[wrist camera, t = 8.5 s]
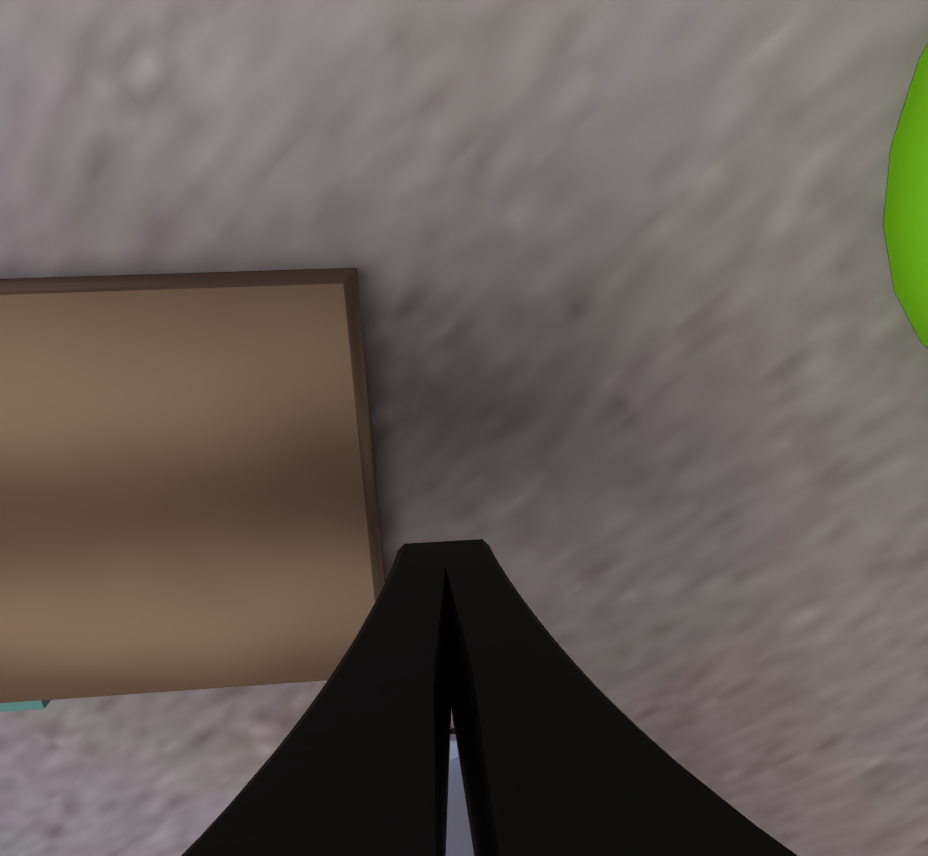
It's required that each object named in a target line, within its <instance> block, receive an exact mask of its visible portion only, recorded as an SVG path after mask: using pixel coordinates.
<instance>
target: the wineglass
mask: <svg viewBox="0 0 928 856" xmlns="http://www.w3.org/2000/svg"><path fill="white" fill-rule="evenodd" d="M883 226H884V232H885V238H886V244H887V250H888V256H889V262H890V268H891V274H892V280H893V286H894V291H895V293H896V295H897V297H898V299H899V301H900V303H901V305H902V307H903V309H904V310H905V312H906V314H907V316H908V318H909V320H910V322H911V324H912V326H913V328H914V330H915V332H916V334H917V336H918V337H919V339H920V341H921V342H922V343H923V344H924V345H925V346H926V347H927V348H928V44H927V46H926V48H925V50H924V52H923V53H922V55H921V57H920V59H919V62H918V65H917V68H916V71H915V74H914V77H913V80H912V83H911V86H910V89H909V93H908V96H907V99H906V102H905V105H904V108H903V111H902V114H901V117H900V120H899V124H898V127H897V130H896V133H895V136H894V139H893V142H892V145H891V152H890V162H889V172H888V183H887V193H886V203H885V214H884V224H883Z"/></svg>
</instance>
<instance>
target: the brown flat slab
mask: <svg viewBox="0 0 928 856" xmlns="http://www.w3.org/2000/svg"><path fill="white" fill-rule="evenodd" d="M384 584H385V581H384V570H383V559H382V548H381V537H380V525H379V514H378V503H377V492H376V481H375V470H374V459H373V448H372V437H371V426H370V415H369V404H368V392H367V381H366V370H365V359H364V348H363V337H362V326H361V315H360V304H359V293H358V282H357V270H356V268H340V269H308V270H276V271H245V272H213V273H181V274H149V275H118V276H86V277H54V278H22V279H0V703H11V702H25V701H39V700H53V699H68V698H82V697H96V696H110V695H124V694H138V693H152V692H166V691H180V690H195V689H209V688H223V687H237V686H251V685H265V684H279V683H293V682H307V681H321V680H328V679H329V678H330V676H331V675H332V673H333V672H334V670H335V669H336V667H337V666H338V664H339V662H340V661H341V659H342V658H343V656H344V655H345V653H346V652H347V650H348V649H349V647H350V646H351V644H352V642H353V641H354V639H355V637H356V636H357V634H358V632H359V631H360V629H361V627H362V625H363V623H364V622H365V620H366V618H367V616H368V614H369V613H370V611H371V609H372V607H373V605H374V604H375V602H376V600H377V598H378V596H379V594H380V592H381V590H382V588H383V586H384Z"/></svg>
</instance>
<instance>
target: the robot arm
mask: <svg viewBox="0 0 928 856" xmlns="http://www.w3.org/2000/svg"><path fill="white" fill-rule="evenodd" d="M451 708H452V715H453V722H454V728H455V734H450V726H451ZM181 856H797V855H796V854H794V853H793V852H792V851H790V850H789V849H787V848H786V847H785V846H783V845H782V844H781V843H779V842H778V841H776V840H775V839H774V838H772V837H771V836H770V835H768V834H767V833H765V832H764V831H763V830H761V829H760V828H758V827H757V826H756V825H754V824H753V823H752V822H751V821H749V820H748V819H747V818H746V817H745V816H743V815H742V814H741V813H740V812H738V811H737V810H736V809H735V808H733V807H732V806H731V805H730V804H728V803H727V802H726V801H725V800H723V799H722V798H721V797H720V796H718V795H717V794H716V793H715V792H713V791H712V790H711V789H710V788H708V787H707V786H706V785H705V784H703V783H702V782H701V781H700V780H698V779H697V778H696V777H695V776H693V775H692V774H691V773H690V772H688V771H687V770H686V769H685V768H683V767H682V766H681V765H680V764H679V763H677V762H676V761H675V760H674V759H673V758H672V757H670V756H669V755H668V754H667V753H666V752H665V751H664V750H663V749H662V748H660V747H659V746H658V745H657V744H656V743H655V742H654V741H653V740H652V739H650V738H649V737H648V736H647V735H646V734H645V733H644V732H643V731H642V730H640V729H639V728H638V727H637V726H636V725H635V724H634V723H633V722H632V721H631V720H630V719H629V718H628V717H627V716H626V715H625V714H624V713H623V712H622V711H620V710H619V709H618V708H617V707H616V706H615V705H614V704H613V703H612V702H611V701H610V700H609V699H608V698H607V697H606V696H605V695H604V694H603V693H602V692H601V691H600V690H599V689H598V688H597V687H596V686H595V684H594V683H593V682H592V681H591V680H590V679H589V678H588V677H587V676H586V675H585V674H584V673H583V672H582V671H581V669H580V668H579V667H578V666H577V665H576V664H575V663H574V662H573V660H572V659H571V658H570V657H569V656H568V655H567V654H566V653H565V651H564V650H563V649H562V648H561V647H560V646H559V644H558V643H557V642H556V641H555V640H554V638H553V637H552V636H551V635H550V634H549V632H548V631H547V630H546V629H545V627H544V626H543V625H542V624H541V622H540V621H539V620H538V618H537V617H536V616H535V615H534V613H533V612H532V611H531V609H530V608H529V607H528V605H527V604H526V603H525V602H524V600H523V599H522V597H521V596H520V595H519V593H518V592H517V590H516V589H515V587H514V586H513V584H512V583H511V582H510V580H509V579H508V577H507V576H506V574H505V572H504V571H503V569H502V568H501V566H500V565H499V563H498V561H497V560H496V558H495V556H494V554H493V552H492V551H491V549H490V546H489V545H488V544H487V543H486V542H485V541H483V540H482V539H479V540H462V541H445V542H428V543H411V544H404V545H403V546H402V547H401V548H400V549H399V550H398V551H397V555H396V558H395V561H394V563H393V566H392V568H391V571H390V573H389V575H388V577H387V580H386V582H385V584H384V586H383V588H382V590H381V592H380V594H379V596H378V598H377V600H376V602H375V604H374V605H373V607H372V609H371V611H370V613H369V614H368V616H367V618H366V620H365V622H364V623H363V625H362V627H361V629H360V631H359V632H358V634H357V636H356V637H355V639H354V641H353V642H352V644H351V646H350V647H349V649H348V650H347V652H346V653H345V655H344V656H343V658H342V659H341V661H340V662H339V664H338V666H337V667H336V669H335V670H334V672H333V673H332V675H331V676H330V678H329V679H328V681H327V683H326V684H325V685H324V687H323V688H322V690H321V691H320V693H319V694H318V695H317V697H316V698H315V700H314V701H313V702H312V704H311V705H310V707H309V708H308V709H307V711H306V712H305V713H304V715H303V716H302V717H301V719H300V720H299V721H298V723H297V724H296V725H295V726H294V728H293V729H292V730H291V732H290V733H289V734H288V735H287V737H286V738H285V739H284V740H283V742H282V743H281V744H280V746H279V747H278V748H277V749H276V751H275V752H274V753H273V754H272V755H271V757H270V758H269V759H268V760H267V761H266V762H265V764H264V765H263V766H262V767H261V768H260V770H259V771H258V772H257V773H256V774H255V775H254V777H253V778H252V779H251V780H250V781H249V782H248V784H247V785H246V786H245V787H244V788H243V789H242V791H241V792H240V793H239V794H238V795H237V796H236V798H235V799H234V800H233V801H232V802H231V803H230V804H229V806H228V807H227V808H226V809H225V810H224V811H223V812H222V813H221V814H220V815H219V817H218V818H217V819H216V820H215V821H214V822H213V823H212V824H211V825H210V826H209V828H208V829H207V830H206V831H205V832H204V833H203V834H202V835H201V836H200V837H199V838H198V839H197V840H196V841H195V842H194V843H193V844H192V845H191V846H190V847H189V848H188V849H187V850H186V851H185V852H184V853H183V854H182V855H181Z"/></svg>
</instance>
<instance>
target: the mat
mask: <svg viewBox="0 0 928 856" xmlns="http://www.w3.org/2000/svg"><path fill="white" fill-rule="evenodd" d="M49 702H50V700H39V701H25V702H11V703H0V712H6V711H19V710H33V709H45V707H46V706H47V705H48V703H49Z"/></svg>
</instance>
